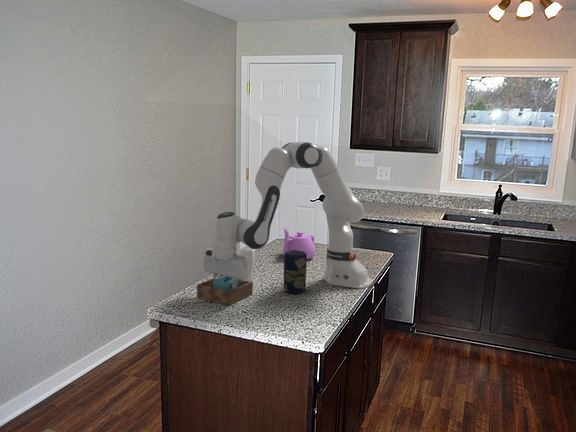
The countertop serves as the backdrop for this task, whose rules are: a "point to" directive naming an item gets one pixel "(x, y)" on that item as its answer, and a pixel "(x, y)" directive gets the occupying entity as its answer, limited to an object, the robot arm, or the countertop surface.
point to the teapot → (299, 243)
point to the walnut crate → (224, 292)
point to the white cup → (248, 260)
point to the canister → (295, 271)
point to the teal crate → (224, 283)
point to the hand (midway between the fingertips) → (225, 285)
